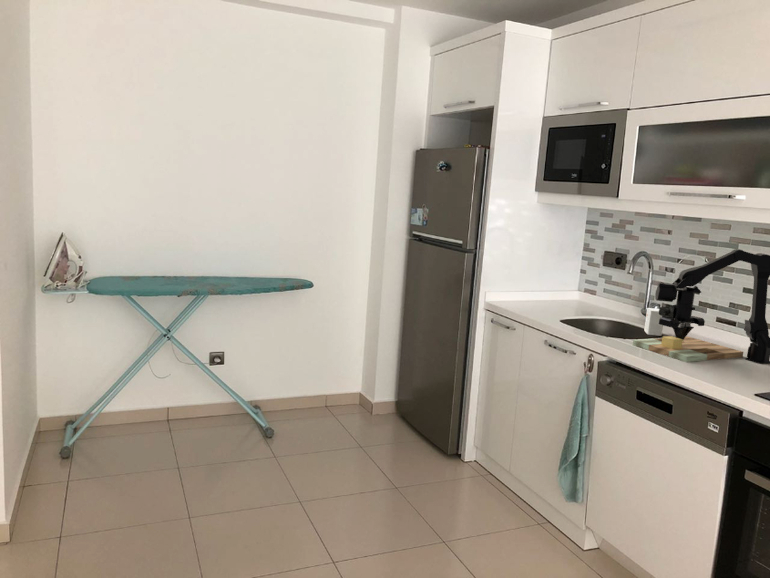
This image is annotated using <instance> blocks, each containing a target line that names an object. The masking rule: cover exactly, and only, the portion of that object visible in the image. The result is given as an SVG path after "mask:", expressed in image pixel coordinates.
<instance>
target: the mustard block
mask: <svg viewBox="0 0 770 578" xmlns="http://www.w3.org/2000/svg"><path fill="white" fill-rule="evenodd" d="M661 338H662V343H661V346H664V347H667V348H670V349H680V348H682V341H683V339H680V338H676V337H675V336H672V335H669V336H661Z"/></svg>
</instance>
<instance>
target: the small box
mask: <svg viewBox="0 0 770 578" xmlns="http://www.w3.org/2000/svg"><path fill="white" fill-rule="evenodd" d="M659 309H660V308H654V307H646V313H645V314H646V315H645V323H644V332H645V333H646V334H647V335H648V336H657V337H659V336H660V337H663V336H662V335H663V327H664V325H660V324H659V319H660V318H661V317H662V316H660V315H659Z"/></svg>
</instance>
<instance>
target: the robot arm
mask: <svg viewBox="0 0 770 578" xmlns="http://www.w3.org/2000/svg"><path fill="white" fill-rule="evenodd" d="M737 262H745V263H747V264H750V267H751V272H752V275H753V287H752V289H753V290H752V303H751V315H750V317H749V319H744V328H743V330H744V331H745V335H746V336H747V337H748V338H749V341H750V342H749V343H750V344H749V346H748V348H747V352H746V353H747V354H746V357H745V358H744V359H745V360H747V361H749V362H754V363H757V364H770V336H769V335H770V333H769V327H768V326H769V325H768V321H767V320H766V314H767V313H766V311H767V300H768V288H769V286H768V285H769V284H768V283H769V280H770V279H769V278H770V254H765V253H761V252H760V253H755V254H754V253H752V252H747V251H745V250H743V249H739V248H735V249H732V250H731V251H729V252H728V253H727V252H726V254H724V255H721V256H720V257H719V256H718V257H717V258H715V259H713V260H710V261H708V262H706V263H704V264H702V265H699V266H694V267H690V268H686V269H684V270H682V271H680V273H679V275H678V278H677V279H675V280H674V281H673V283H664V282H658V285H657V288H656V290H655V294H654V295H655V296H654V298H655V301H660V302H669V303H673V302H674V301H675V300H676V301H675V302H676V303H675V304H672V307H671V308H667V306H660V307H659V308H658V309H659V315H660V316H662V317H661V318H660V319H659V324H660V325H663V327H669V328H672V329H673V331H674V337H676V338H680V339H683V340H684V338H685V337H688V334H689V333H691V331H692V330H693V329H694V326H692V325H691V324H695V325H697V326H698V327H704V326H705V323H706V321H705V319H704V318H703V317H699V316H694V315H693V311H695V310H696V307H695V306H694V300H695V294H701V293H702V291H701V289H699V287H698V286H697V284H699V283H701V282H702V281H703V280H704V279H705V278H706V277H708V276H709V275H711V274H713V273H715V272H718V271H721V270H722V269H724V268H727V267H728V266H729V267H730V266H731V265H733V264H736V263H737Z"/></svg>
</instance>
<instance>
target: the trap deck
mask: <svg viewBox="0 0 770 578" xmlns="http://www.w3.org/2000/svg"><path fill="white" fill-rule="evenodd" d="M661 343H662V337H659V338H658V337H657V338H645V339H643V338H642V339H633V340H632V346H635V347H637V348H641V349H644V350H648V351H650V352H654V353H656V354H660V355H662V356H666V355H667V356H666V357H669V356H670V358H672V357H673V359H675V358H676V359H677V360H679V361H682V362H685V363H690V361H692V362H702V361H711V360H712V361H713V360H724V359H733V358H735V359H737V358H743V357H744V351H742V350H739V349H734V348H731V347H728V346H724V345H720V344H717V343H713V342H709V341H705V340H702V339H698V338H694V337H691V336H686V337H685V338H684V340H683V341H682V348H680V349H670V348H667V347H664V346H661Z"/></svg>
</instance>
